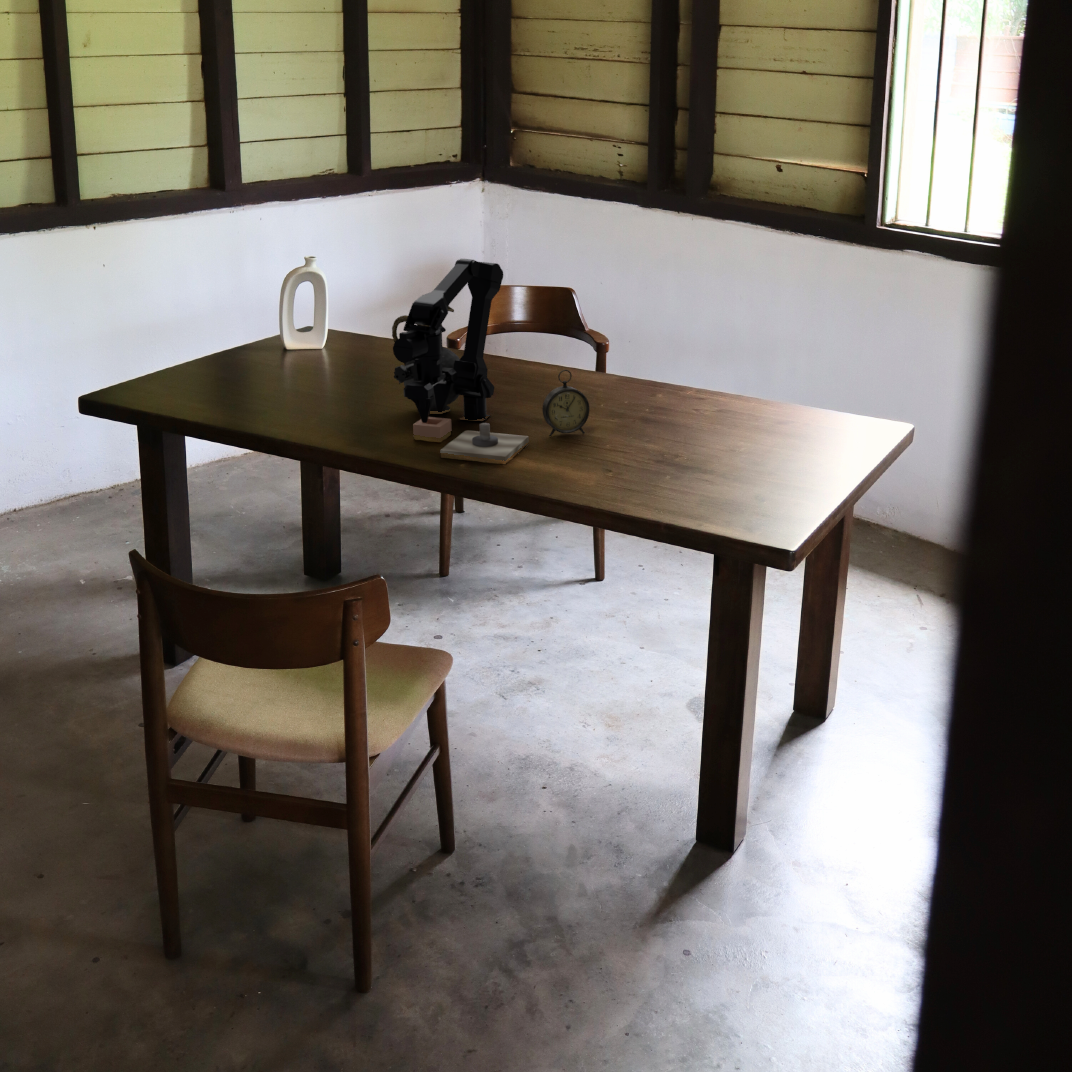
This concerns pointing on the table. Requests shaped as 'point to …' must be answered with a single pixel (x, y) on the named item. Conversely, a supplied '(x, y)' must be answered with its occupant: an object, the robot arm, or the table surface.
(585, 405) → the alarm clock
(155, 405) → the table surface
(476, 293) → the robot arm
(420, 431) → the collar
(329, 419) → the table surface
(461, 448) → the post stand
